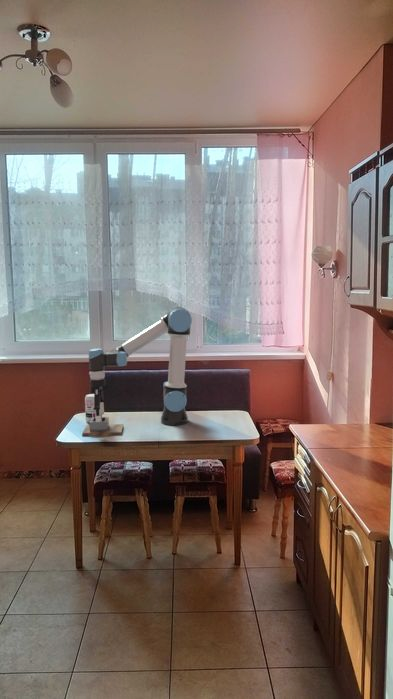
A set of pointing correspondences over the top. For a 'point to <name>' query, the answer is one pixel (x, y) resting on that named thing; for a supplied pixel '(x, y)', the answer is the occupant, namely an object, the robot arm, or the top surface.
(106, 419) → the grey square socket block
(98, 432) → the keeper plate
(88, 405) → the supplement can
